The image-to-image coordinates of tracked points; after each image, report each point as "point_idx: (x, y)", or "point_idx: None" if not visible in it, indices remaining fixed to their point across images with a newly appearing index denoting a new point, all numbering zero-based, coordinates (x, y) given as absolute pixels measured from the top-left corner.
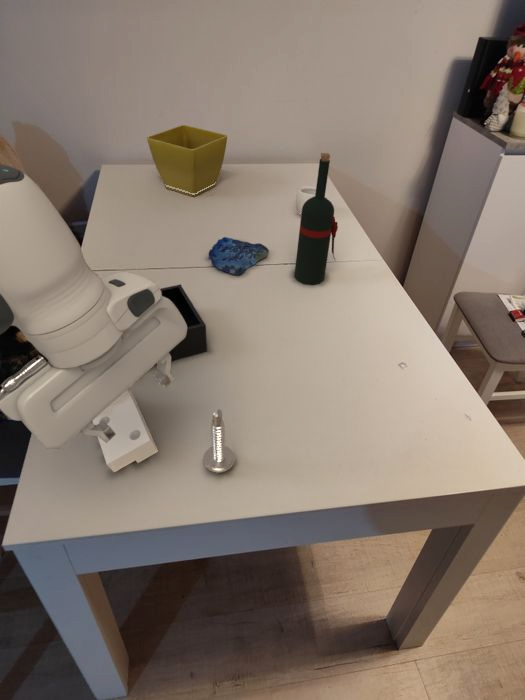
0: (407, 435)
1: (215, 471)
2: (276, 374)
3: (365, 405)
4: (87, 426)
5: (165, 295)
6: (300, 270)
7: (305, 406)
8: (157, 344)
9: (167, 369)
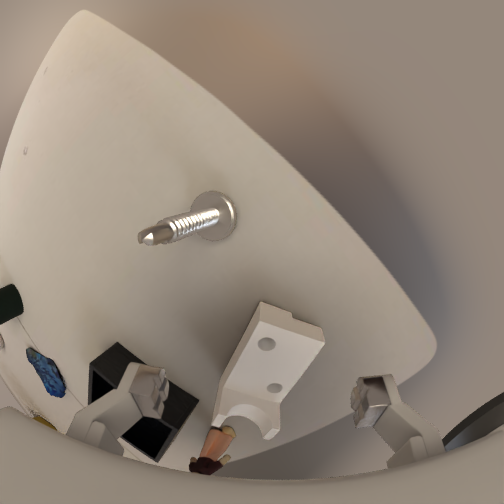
0: (74, 83)
1: (232, 204)
2: (84, 249)
3: (64, 138)
4: (425, 448)
5: None
6: (12, 309)
7: (92, 187)
8: (55, 490)
9: (113, 399)
